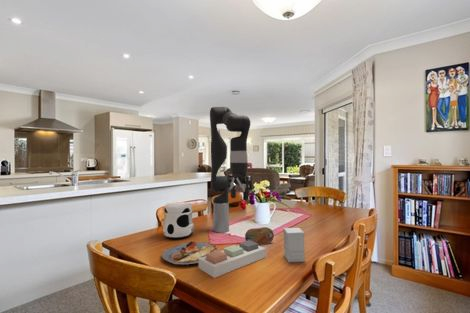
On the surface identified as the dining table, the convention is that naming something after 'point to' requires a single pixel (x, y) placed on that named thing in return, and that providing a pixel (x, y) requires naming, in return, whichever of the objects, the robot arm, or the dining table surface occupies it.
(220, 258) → the terracotta key
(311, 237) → the dining table surface
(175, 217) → the milk container
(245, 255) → the key board
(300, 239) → the supplement box
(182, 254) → the food plate
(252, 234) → the brown rounded lump
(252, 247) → the charcoal key
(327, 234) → the dining table surface
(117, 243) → the dining table surface
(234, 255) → the sage key
